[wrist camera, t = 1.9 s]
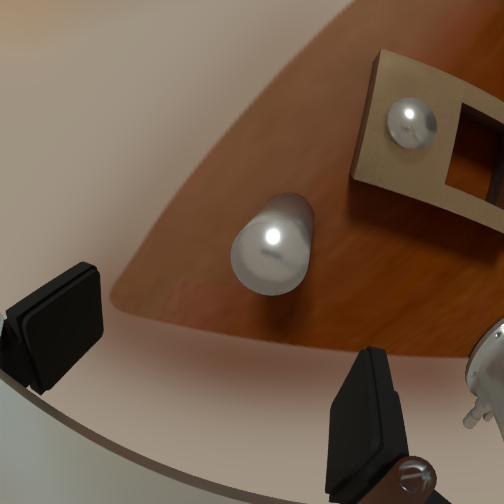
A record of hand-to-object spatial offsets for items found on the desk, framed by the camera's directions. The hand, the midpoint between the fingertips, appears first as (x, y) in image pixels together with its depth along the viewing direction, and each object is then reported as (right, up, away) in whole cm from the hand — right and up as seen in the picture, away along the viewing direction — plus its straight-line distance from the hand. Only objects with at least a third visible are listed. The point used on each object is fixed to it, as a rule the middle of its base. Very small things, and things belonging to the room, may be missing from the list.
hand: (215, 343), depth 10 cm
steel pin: (+4, +6, +17) cm, 18 cm away
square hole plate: (+20, +11, +11) cm, 25 cm away
